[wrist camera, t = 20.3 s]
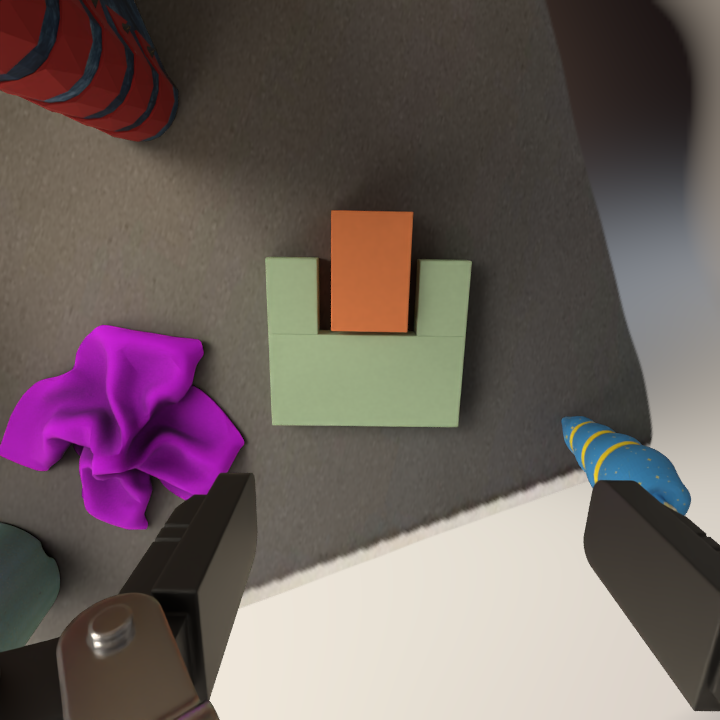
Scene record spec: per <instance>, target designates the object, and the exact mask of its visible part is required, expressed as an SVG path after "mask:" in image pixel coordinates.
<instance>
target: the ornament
mask: <svg viewBox="0 0 720 720" xmlns="http://www.w3.org/2000/svg"><path fill="white" fill-rule="evenodd" d="M561 422H562V427H563V435H564V440H565V443H566V445H567V446H568V448H569V449H570V450H571V452H572V453H574V454H575V457H576V460H577V462H578V464H579V465H580V467H581V468H582V469H583V470H584V471H585V472H586V475H587V478H588V480H589V482H590V484H591V486H592V488H593V487H594V485H595V483H596V482H597V481H599V480H632V481H635V482H637V483H639V484H640V485H641V486H642V487H643V488H644V489H646V490H647V491H648V492H649V493H650V494H651V495H652V496H654V497H655V498H656V499H657V500H658V501H659V502H660V503H662V504H664V505H666V506H667V507H669V508H671V509H673V510H675V511H677V512H678V513H680V514H682V515H684V516H685V514H686V513H687V511H688V509H689V506H690V502H691V496H690V493H689V491H688V490H687V488H686V487H685V485H683V483H682V482H681V480H680V478H679V476H678V474H677V473H676V470H675V468H674V466H673V464H672V463H671V462H670V460H669V459H668V458H667V457H666V456H664V455H663V454H661V453H660V452H659V451H657V450H655V449H652V448H650V447H647V446H643V445H642V444H641V443H640V442H638V441H637V440H636V439H634V438H632V437H631V436H628V435H624V434H619V433H616V432H615V431H614V430H612V429H611V428H609V427H607V426H605V425H602V424H598V423H595V422H593V421H592V420H591V419H589V418H586V417H583V416H575V417H564V418H563V419H562V421H561Z"/></svg>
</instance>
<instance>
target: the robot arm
mask: <svg viewBox="0 0 720 720" xmlns="http://www.w3.org/2000/svg"><path fill="white" fill-rule="evenodd" d="M256 545H257V514H256V492H255V478H254V475H253V473H220V474H219V475H218V476H217V478H216V480H215V481H214V483H213V485H212V486H211V488H210V490H209V492H208V493H207V495H202V494H194V495H193V496H191V497H190V498H189V499H187V500H186V501H185V502H183V503H182V504H181V505H179V506H178V507H176V508H175V510H174V511H173V513H172V514H171V516H170V517H169V519H168V520H167V522H166V523H165V527H164V528H162V529H161V531H160V532H159V534H158V535H157V537H156V540H155V542H153V543H152V544H151V546H150V547H149V549H148V550H147V552H146V553H145V555H144V556H143V558H142V559H141V561H140V562H139V564H138V565H137V567H136V568H135V570H134V571H133V573H132V574H131V576H130V577H129V579H128V580H127V582H126V583H125V585H124V586H123V588H122V589H121V591H120V592H119V594H118V595H115V596H112V597H109V598H106V599H104V600H102V601H99V602H97V603H95V604H94V605H92V606H90V607H89V608H87V609H86V610H84V611H83V612H82V613H80V614H79V615H78V616H77V617H76V618H74V619H73V620H72V621H71V623H70V624H69V625H68V626H67V627H66V629H65V630H64V631H63V633H62V635H61V637H58V638H55V639H51V640H48V641H44V642H40V643H36V644H32V645H28V646H24V647H20V648H16V649H12V650H8V651H4V652H0V720H219V718H218V715H217V713H216V711H215V709H214V707H213V705H212V704H211V702H210V701H209V699H210V696H211V692H212V689H213V686H214V683H215V680H216V677H217V674H218V671H219V668H220V664H221V661H222V658H223V655H224V652H225V649H226V646H227V642H228V639H229V636H230V633H231V630H232V627H233V624H234V620H235V617H236V614H237V611H238V608H239V605H240V602H241V598H242V595H243V592H244V589H245V586H246V583H247V580H248V576H249V573H250V570H251V567H252V564H253V561H254V557H255V552H256ZM584 549H585V554H586V557H587V560H588V562H589V564H590V566H591V567H592V568H593V570H594V571H595V573H596V574H597V576H598V577H599V578H600V580H601V581H602V583H603V584H604V585H605V587H606V588H607V590H608V591H609V592H610V594H611V595H612V597H613V598H614V599H615V601H616V602H617V603H618V605H619V606H620V608H621V609H622V611H623V612H624V613H625V615H626V616H627V618H628V619H629V620H630V622H631V623H632V624H633V626H634V627H635V629H636V630H637V632H638V633H639V634H640V636H641V637H642V639H643V640H644V641H645V643H646V644H647V645H648V647H649V648H650V650H651V651H652V653H653V654H654V655H655V656H656V658H657V659H658V661H659V662H660V664H661V665H662V666H663V668H664V669H665V671H666V672H667V673H668V675H669V676H670V678H671V679H672V680H673V682H674V683H675V685H676V686H677V687H678V689H679V690H680V692H681V693H682V694H683V696H684V697H685V699H686V700H687V701H688V703H689V704H690V706H691V707H692V708H693V710H694V711H720V545H719V544H718V543H717V542H715V541H714V540H713V539H712V538H711V537H707V536H706V533H705V532H704V531H702V530H701V529H700V528H699V527H698V526H697V525H695V524H694V523H693V522H692V521H691V520H689V519H688V518H687V517H686V516H684V515H682V514H680V513H678V512H677V511H675V510H673V509H671V508H669V507H667V506H666V505H664V504H662V503H660V502H659V501H658V500H657V499H656V498H655V497H654V496H652V495H651V494H650V493H649V492H648V491H647V490H646V489H644V488H643V487H642V486H641V485H640V484H639V483H637V482H635V481H632V480H599V481H597V482H596V483H595V485H594V487H593V491H592V496H591V501H590V506H589V512H588V517H587V522H586V528H585V533H584Z"/></svg>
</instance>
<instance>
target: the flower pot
mask: <svg viewBox="0 0 720 720" xmlns="http://www.w3.org/2000/svg"><path fill="white" fill-rule="evenodd" d="M59 588H60V574H59V570H58V567H57V564H56V562H55V560H54V559H53V558H50V557H48V556H47V555H46V554H45V552H44V550H43V549H42V546H41V542H40V541H39V540H37V539H36V538H35V537H33V536H32V535H30V534H29V533H27V532H25V531H23V530H21V529H19V528H16V527H14V526H11V525H8V524H4V523H0V652H4V651H8V650H12V649H16V648H20V647H24V646H25V644H26V643H27V641H28V640H29V638H30V637H31V636H32V634H33V633H34V631H35V630H36V628H37V627H38V625H39V624H40V622H41V621H42V620H43V618H44V617H45V615H46V614H47V612H48V611H49V609H50V608H51V607H52V605H53V603H54V602H55V600H56V598H57V595H58V592H59Z"/></svg>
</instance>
